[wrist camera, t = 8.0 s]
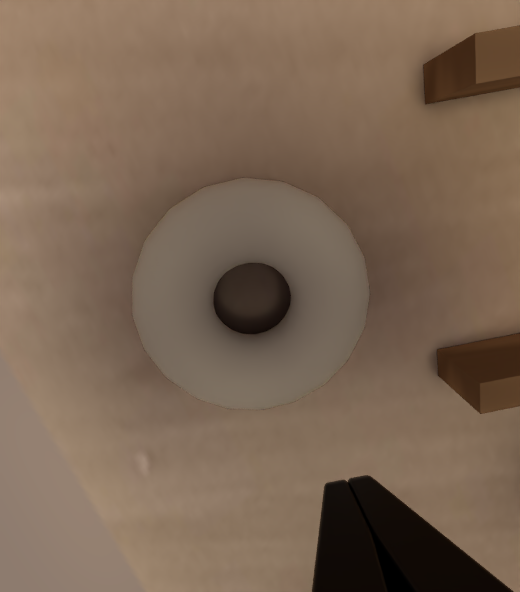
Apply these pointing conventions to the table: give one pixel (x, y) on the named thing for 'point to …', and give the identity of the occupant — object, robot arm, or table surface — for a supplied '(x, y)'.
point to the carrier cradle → (451, 85)
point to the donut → (239, 250)
